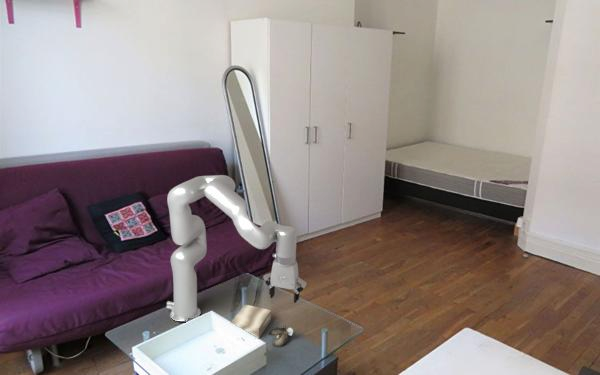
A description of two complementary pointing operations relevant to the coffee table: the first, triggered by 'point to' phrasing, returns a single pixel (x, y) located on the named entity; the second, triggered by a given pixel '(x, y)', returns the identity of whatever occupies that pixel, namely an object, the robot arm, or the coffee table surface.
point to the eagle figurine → (280, 335)
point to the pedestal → (252, 319)
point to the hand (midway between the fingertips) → (284, 298)
